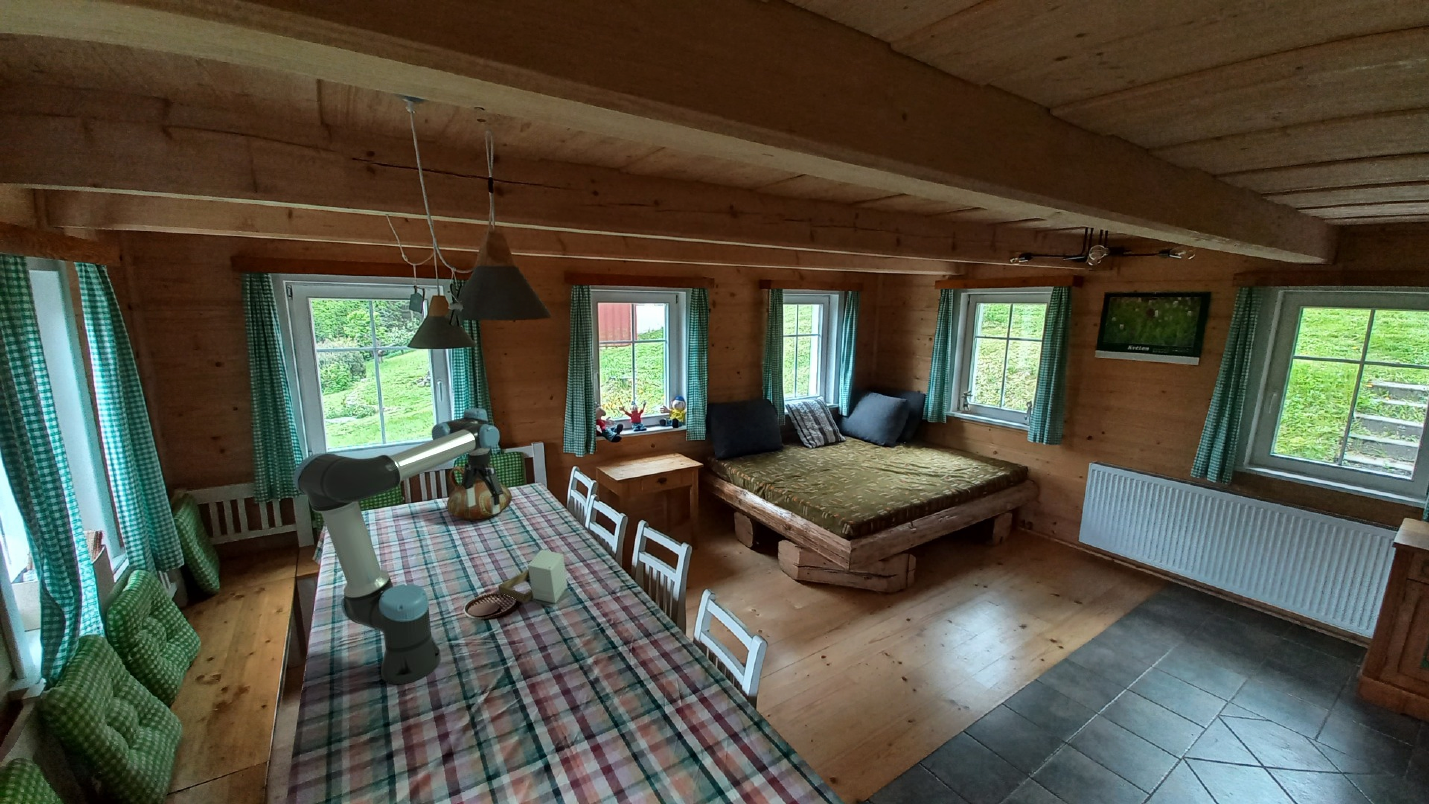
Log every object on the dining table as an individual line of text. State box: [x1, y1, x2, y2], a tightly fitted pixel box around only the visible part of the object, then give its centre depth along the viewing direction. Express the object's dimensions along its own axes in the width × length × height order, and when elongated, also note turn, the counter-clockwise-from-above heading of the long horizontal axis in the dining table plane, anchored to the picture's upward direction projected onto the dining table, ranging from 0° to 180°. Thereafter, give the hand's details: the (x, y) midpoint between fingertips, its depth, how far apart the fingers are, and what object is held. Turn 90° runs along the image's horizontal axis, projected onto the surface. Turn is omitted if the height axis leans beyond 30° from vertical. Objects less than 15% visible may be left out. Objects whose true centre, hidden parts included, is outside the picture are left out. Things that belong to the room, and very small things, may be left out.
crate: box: [497, 569, 533, 604], centre depth 198 cm, size 14×14×3 cm
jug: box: [446, 463, 513, 522], centre depth 267 cm, size 30×30×25 cm
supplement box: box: [527, 549, 568, 603], centre depth 190 cm, size 9×9×15 cm
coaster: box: [530, 589, 573, 608], centre depth 193 cm, size 10×10×1 cm
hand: (483, 509), depth 194 cm, fingers open, 13 cm apart
